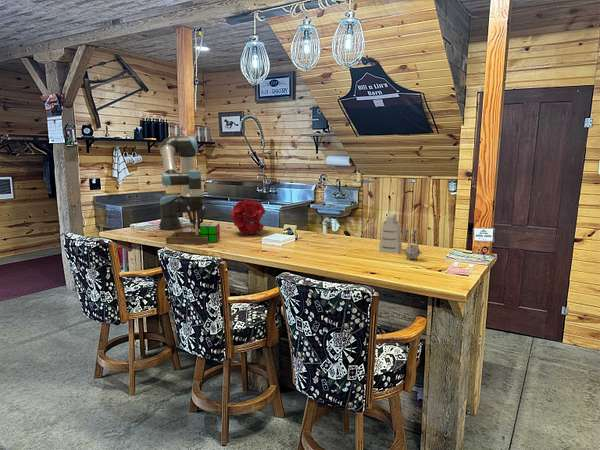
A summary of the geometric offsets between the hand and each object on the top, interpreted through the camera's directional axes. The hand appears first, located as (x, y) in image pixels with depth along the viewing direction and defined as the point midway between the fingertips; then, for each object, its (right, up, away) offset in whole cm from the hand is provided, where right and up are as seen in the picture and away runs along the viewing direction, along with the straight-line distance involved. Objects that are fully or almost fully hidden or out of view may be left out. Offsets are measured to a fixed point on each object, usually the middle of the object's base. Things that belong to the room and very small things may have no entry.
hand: (197, 234), depth 262 cm
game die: (+119, -12, -46) cm, 128 cm away
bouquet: (+30, 0, +25) cm, 39 cm away
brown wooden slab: (-4, -4, +1) cm, 6 cm away
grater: (+112, -8, -27) cm, 116 cm away
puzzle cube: (+8, -4, +1) cm, 9 cm away
